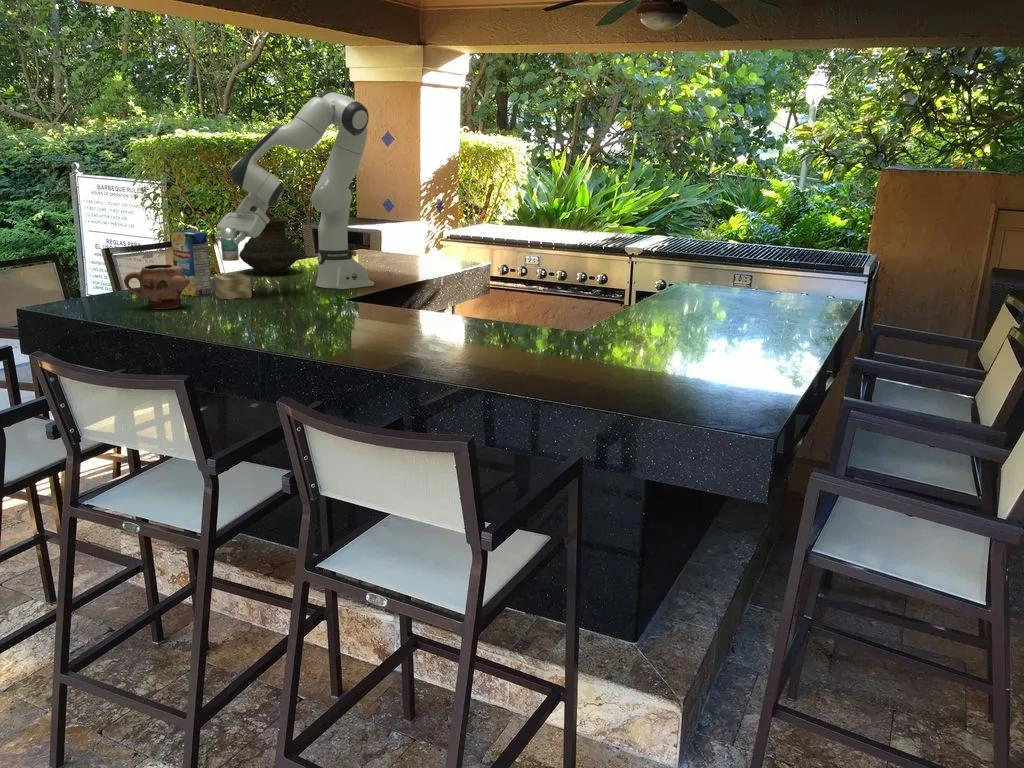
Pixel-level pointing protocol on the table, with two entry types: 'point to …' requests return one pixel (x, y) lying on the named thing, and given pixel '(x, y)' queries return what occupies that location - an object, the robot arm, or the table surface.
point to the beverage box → (192, 260)
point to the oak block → (232, 286)
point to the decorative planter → (160, 285)
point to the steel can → (229, 244)
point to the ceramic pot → (270, 249)
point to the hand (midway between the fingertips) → (228, 243)
